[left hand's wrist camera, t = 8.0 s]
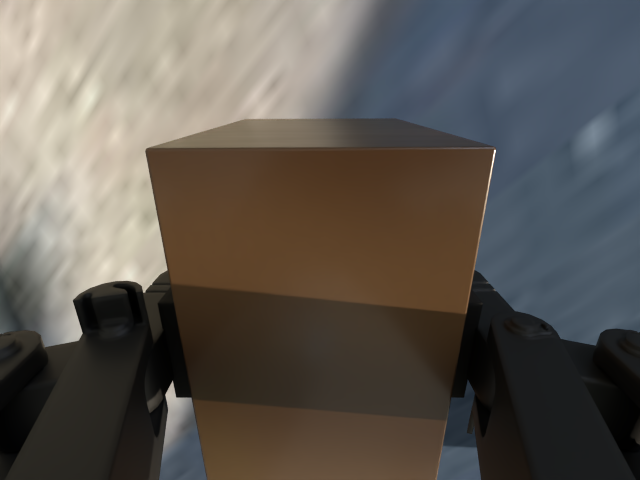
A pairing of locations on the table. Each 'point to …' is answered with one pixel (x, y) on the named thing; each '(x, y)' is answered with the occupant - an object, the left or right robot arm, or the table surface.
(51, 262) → the table surface
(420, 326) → the post
